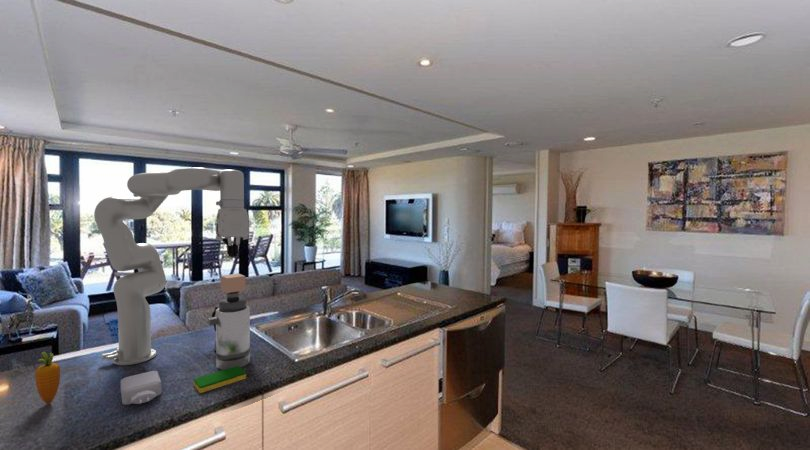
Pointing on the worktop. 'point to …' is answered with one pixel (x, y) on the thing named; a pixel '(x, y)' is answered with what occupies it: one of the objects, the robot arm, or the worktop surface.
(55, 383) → the carrot
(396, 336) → the worktop surface
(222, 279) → the airpot button
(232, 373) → the dish sponge
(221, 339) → the airpot
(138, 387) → the charger
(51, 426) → the worktop surface
